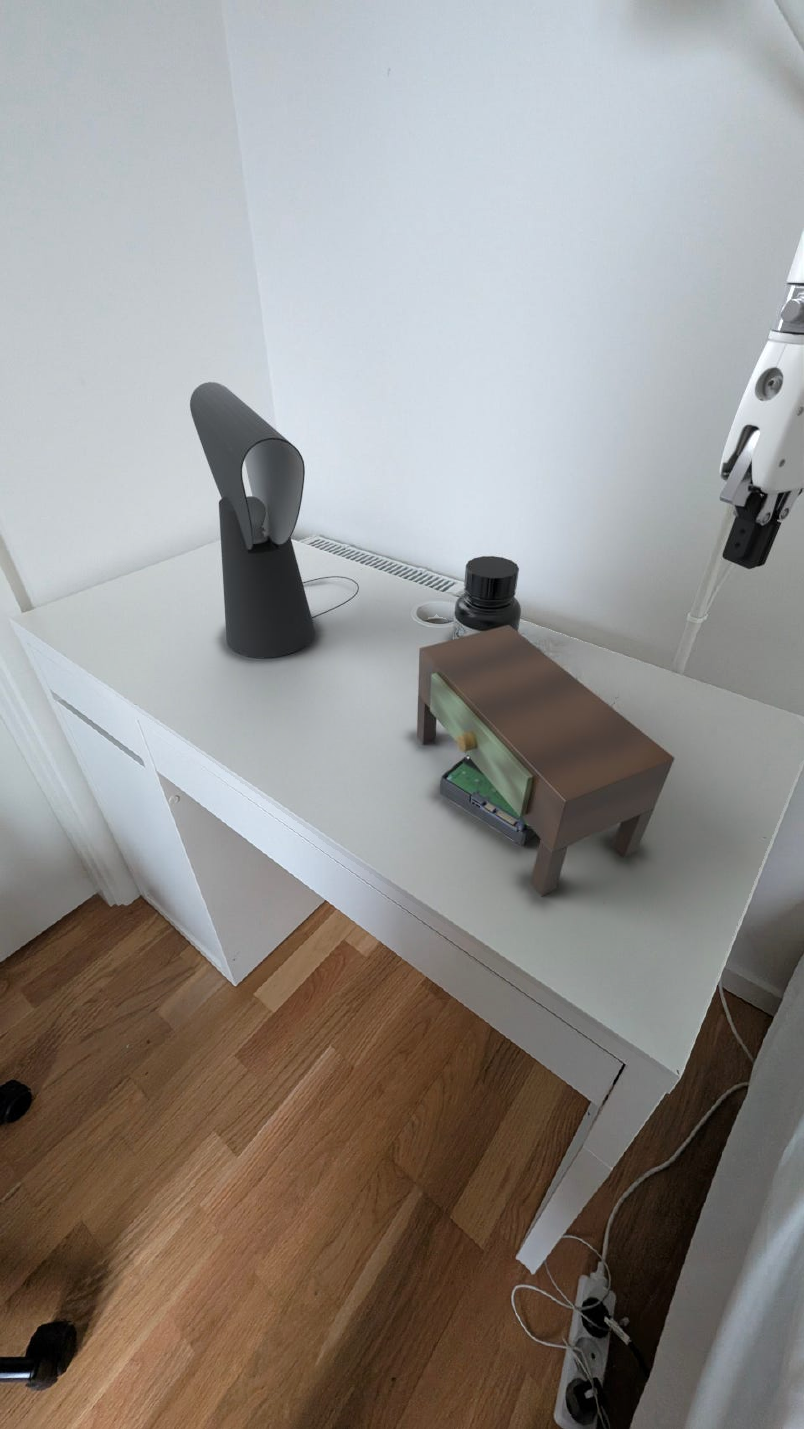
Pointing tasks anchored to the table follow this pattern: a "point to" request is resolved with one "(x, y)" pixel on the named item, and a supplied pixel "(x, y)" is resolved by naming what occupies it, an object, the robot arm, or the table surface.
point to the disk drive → (483, 800)
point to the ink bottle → (487, 597)
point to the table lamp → (255, 525)
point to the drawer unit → (541, 743)
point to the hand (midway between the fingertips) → (742, 561)
